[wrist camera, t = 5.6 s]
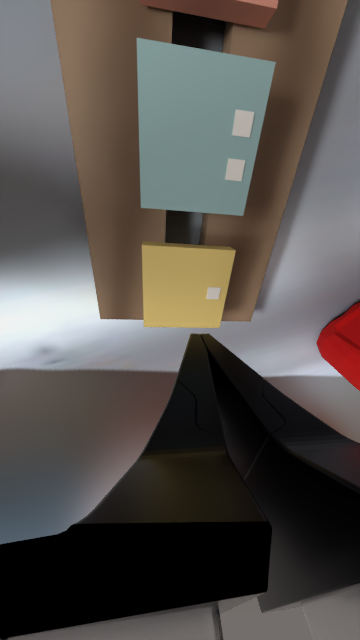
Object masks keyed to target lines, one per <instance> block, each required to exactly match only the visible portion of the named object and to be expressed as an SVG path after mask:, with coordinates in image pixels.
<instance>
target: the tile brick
mask: <svg viewBox="0 0 360 640" xmlns="http://www.w3.org/2000/svg"><path fill="white" fill-rule="evenodd" d="M140 4H141V5H146V6H151V7H156V8H161V9H166V10H172V11H177V12H182V13H187V14H192V15H197V16H202V17H207V18H213V19H218V20H223V21H228V22H233V23H238V24H243V25H248V26H254V27H259V28H264V29H265V27H266V25H267V24H268V22H269V20H270V19H271V17H272V16H273V14H274V12H275V11H276V9H277V5H278V0H140Z"/></svg>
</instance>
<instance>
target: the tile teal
mask: <svg viewBox="0 0 360 640" xmlns="http://www.w3.org/2000/svg"><path fill="white" fill-rule="evenodd" d="M275 63H276V62H272V61H267V60H261V59H255V58H250V57H244V56H238V55H233V54H227V53H221V52H216V51H210V50H204V49H199V48H193V47H187V46H182V45H176V44H170V43H164V42H159V41H153V40H147V39H142V38H137V74H138V114H139V154H140V194H141V208H151V209H163V210H176V211H188V212H201V213H213V214H226V215H238V216H243V214H244V210H245V205H246V200H247V196H248V191H249V186H250V181H251V177H252V172H253V167H254V162H255V158H256V153H257V148H258V144H259V139H260V134H261V129H262V125H263V120H264V115H265V111H266V106H267V101H268V96H269V92H270V87H271V82H272V78H273V73H274V68H275Z"/></svg>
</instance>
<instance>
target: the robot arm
mask: <svg viewBox="0 0 360 640" xmlns="http://www.w3.org/2000/svg"><path fill="white" fill-rule="evenodd" d="M255 597H257V598H258V602H259V606H260V609H261V612H262V613H266V612H271V611H278V610H284V609H290V608H296V607H302V609H303V611H304V614H305V617H306V620H307V623H308V626H309V628H310V631H311V634H312V637H313V640H360V443H358V442H355V441H353V440H351V439H349V438H347V437H345V436H343V435H342V434H340V433H339V432H337V431H336V430H334V429H333V428H331V427H330V426H328V425H327V424H325V423H324V422H323V421H321V420H320V419H318V418H317V417H315V416H314V415H313V414H311V413H310V412H308V411H307V410H305V409H304V408H302V407H301V406H299V405H298V404H297V403H295V402H294V401H293V400H291V399H290V398H288V397H287V396H286V395H284V394H283V393H281V392H280V391H279V390H278V389H277V388H275V387H274V386H272V385H271V384H270V383H269V382H268V381H266V380H265V379H263V377H261V376H260V375H259V374H258V373H257V372H255V371H254V370H253V369H252V368H250V367H249V366H248V365H247V364H245V363H244V362H243V361H242V360H241V359H239V358H238V357H237V356H236V355H234V354H233V353H232V352H231V351H229V350H228V349H227V348H226V347H224V346H223V345H222V344H221V343H220V342H218V341H217V340H216V339H215V338H213V337H212V336H211V335H210V334H191V335H190V338H189V341H188V344H187V347H186V350H185V353H184V356H183V360H182V363H181V366H180V369H179V372H178V375H177V379H176V382H175V384H174V388H173V391H172V393H171V396H170V399H169V401H168V403H167V405H166V407H165V410H164V412H163V414H162V416H161V417H160V420H159V421H158V423H157V425H156V427H155V429H154V431H153V433H152V435H151V437H150V439H149V441H148V443H147V444H146V446H145V448H144V450H143V452H142V453H141V455H140V456H139V458H138V459H137V461H136V462H135V463H134V464H133V465H132V467H131V468H130V469H129V470H128V471H127V472H126V474H124V476H123V477H122V478H121V479H120V480H119V481H118V482H117V484H116V485H115V486H114V487H113V488H112V489H111V491H110V492H109V493H108V494H107V495H106V496H105V497H104V498H103V499H102V501H101V502H100V503H99V504H98V505H97V506H96V507H95V509H94V510H92V512H90V514H88V515H87V516H86V517H85V518H83V519H82V520H80V521H79V522H77V523H75V524H73V525H71V526H70V527H69V528H68V529H67V530H66V531H64V532H62V533H60V534H57V535H52V536H45V537H40V538H34V539H29V540H23V541H17V542H11V543H6V544H1V545H0V640H223V633H222V627H221V620H220V614H221V613H223V612H225V611H228V610H230V609H232V608H234V607H236V606H238V605H240V604H242V603H244V602H247V601H249V600H251V599H253V598H255Z"/></svg>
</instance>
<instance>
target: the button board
mask: <svg viewBox="0 0 360 640" xmlns="http://www.w3.org/2000/svg"><path fill="white" fill-rule="evenodd" d="M347 2H348V0H278V5H277V9H276V11H275V12H274V14H273V16H272V17H271V19H270V20H269V22H268V24H267V25H266V27H265V29H264V28H259V27H254V26H248V25H243V24H238V23H233V22H228V21H226V25H225V33H224V42H223V50H222V53H227V54H233V55H238V56H244V57H250V58H255V59H261V60H267V61H272V62H276V63H275V68H274V73H273V78H272V82H271V87H270V92H269V96H268V101H267V106H266V111H265V115H264V120H263V125H262V129H261V134H260V139H259V144H258V148H257V153H256V158H255V162H254V167H253V172H252V177H251V181H250V186H249V191H248V196H247V200H246V205H245V210H244V214H243V216H238V215H226V214H213V213H203V219H202V227H201V236H200V244H199V245H209V246H225V247H231V248H233V249H234V250H236V252H235V257H234V262H233V266H232V271H231V276H230V280H229V285H228V290H227V295H226V299H225V304H224V309H223V314H222V318H221V321H251V318H252V315H253V312H254V308H255V305H256V302H257V298H258V295H259V292H260V289H261V285H262V282H263V279H264V275H265V272H266V269H267V265H268V262H269V259H270V256H271V252H272V249H273V246H274V242H275V239H276V236H277V232H278V229H279V226H280V223H281V219H282V216H283V213H284V209H285V206H286V203H287V200H288V196H289V193H290V190H291V186H292V183H293V180H294V176H295V173H296V170H297V167H298V163H299V160H300V157H301V153H302V150H303V147H304V143H305V140H306V137H307V134H308V130H309V127H310V124H311V120H312V117H313V114H314V110H315V107H316V104H317V101H318V97H319V94H320V91H321V87H322V84H323V81H324V77H325V74H326V71H327V68H328V64H329V61H330V58H331V54H332V51H333V48H334V44H335V41H336V38H337V35H338V31H339V28H340V25H341V21H342V18H343V15H344V12H345V8H346V5H347ZM51 6H52V13H53V19H54V25H55V32H56V38H57V44H58V51H59V57H60V64H61V70H62V76H63V83H64V89H65V96H66V102H67V108H68V115H69V121H70V127H71V134H72V140H73V147H74V153H75V159H76V166H77V172H78V179H79V185H80V191H81V198H82V204H83V210H84V217H85V223H86V230H87V236H88V242H89V249H90V255H91V262H92V268H93V274H94V281H95V287H96V293H97V300H98V306H99V313H100V319H134V320H144V314H143V274H142V243H143V242H160V243H165V230H166V210H163V209H151V208H141V194H140V154H139V114H138V74H137V38H142V39H147V40H153V41H159V42H164V43H170V44H172V16H173V11H172V10H166V9H161V8H156V7H151V6H146V5H141V4H140V0H51Z"/></svg>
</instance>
